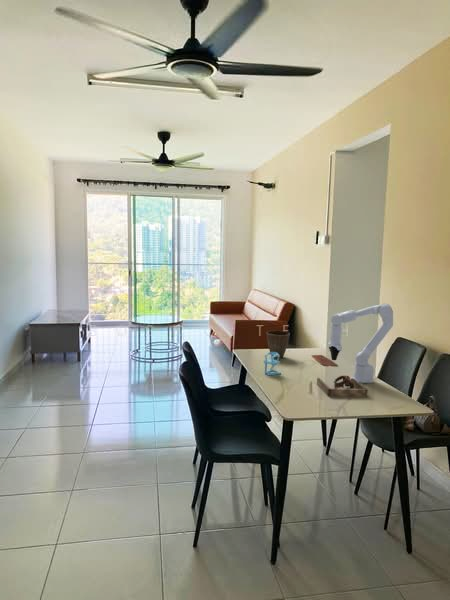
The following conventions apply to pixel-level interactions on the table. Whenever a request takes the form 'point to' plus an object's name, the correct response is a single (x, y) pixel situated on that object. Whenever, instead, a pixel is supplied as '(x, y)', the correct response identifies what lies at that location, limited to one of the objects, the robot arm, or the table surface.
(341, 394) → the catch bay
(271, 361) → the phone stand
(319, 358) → the wooden tablet
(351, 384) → the pottery mug
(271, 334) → the plant pot
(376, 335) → the robot arm
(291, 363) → the table surface
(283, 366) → the table surface
